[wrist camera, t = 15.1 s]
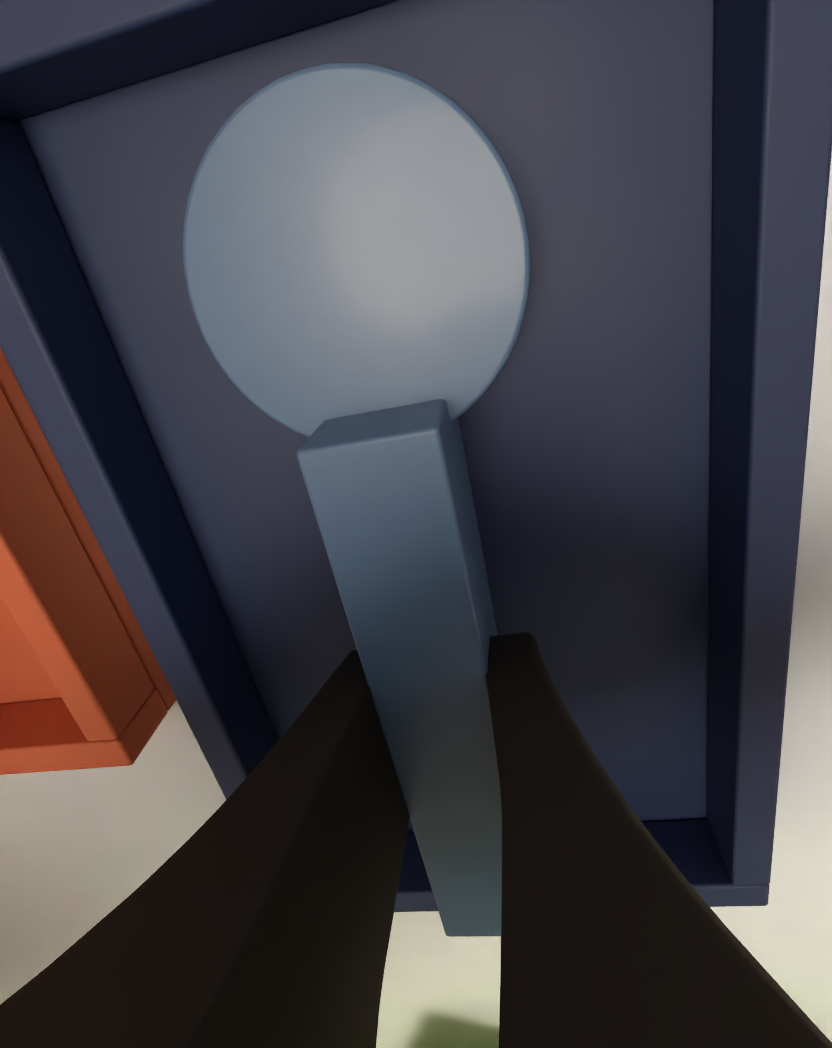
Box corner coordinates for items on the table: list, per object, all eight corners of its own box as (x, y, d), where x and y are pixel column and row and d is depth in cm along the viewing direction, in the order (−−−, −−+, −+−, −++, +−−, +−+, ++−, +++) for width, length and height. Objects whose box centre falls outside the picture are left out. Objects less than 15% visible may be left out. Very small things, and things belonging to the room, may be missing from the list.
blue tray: (730, 817, 13) (769, 907, 11) (306, 835, 15) (282, 915, 13) (765, -181, 6) (876, -346, 5) (-20, 82, 8) (-159, 38, 6)
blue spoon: (587, 799, 12) (613, 936, 9) (398, 808, 12) (379, 938, 10) (499, 49, 7) (508, -56, 4) (184, 140, 7) (45, 95, 5)
